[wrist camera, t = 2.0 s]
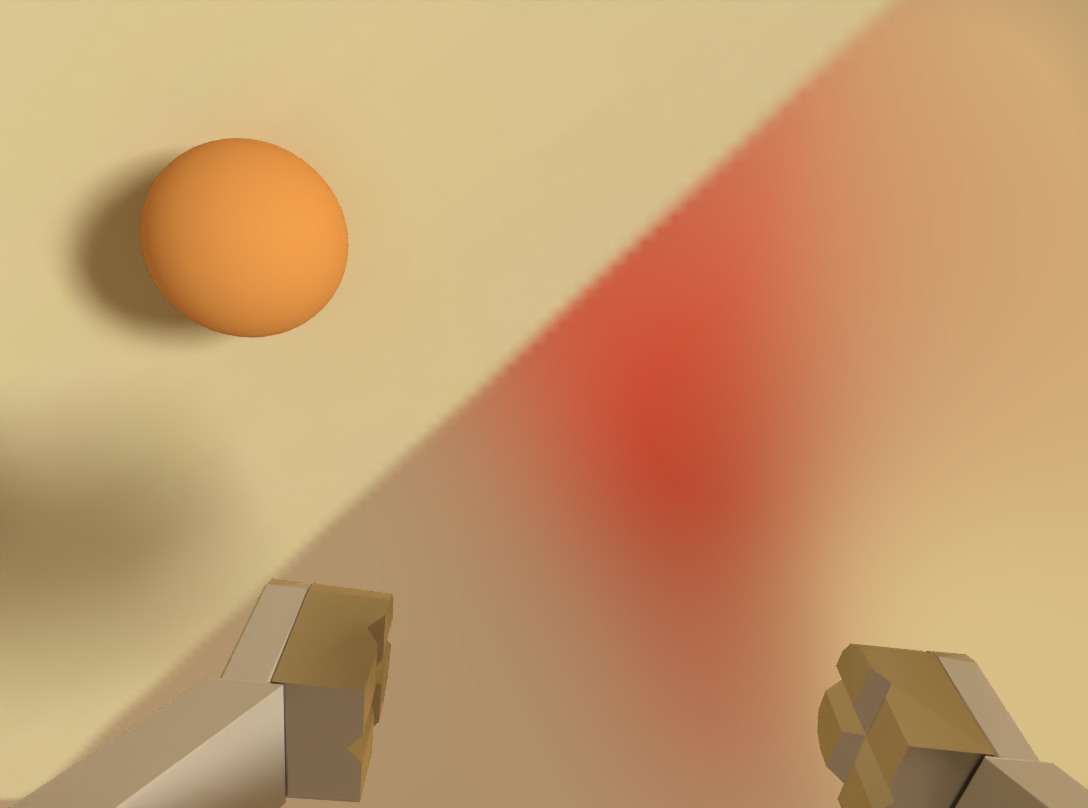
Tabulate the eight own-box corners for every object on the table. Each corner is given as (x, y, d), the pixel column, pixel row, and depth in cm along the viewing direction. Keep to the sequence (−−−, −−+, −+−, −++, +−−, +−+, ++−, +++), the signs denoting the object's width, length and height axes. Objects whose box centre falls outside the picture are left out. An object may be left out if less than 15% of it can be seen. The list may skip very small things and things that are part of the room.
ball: (182, 111, 23) (86, 143, 19) (368, 137, 24) (322, 176, 19) (195, 287, 26) (113, 355, 21) (362, 308, 26) (321, 381, 21)
